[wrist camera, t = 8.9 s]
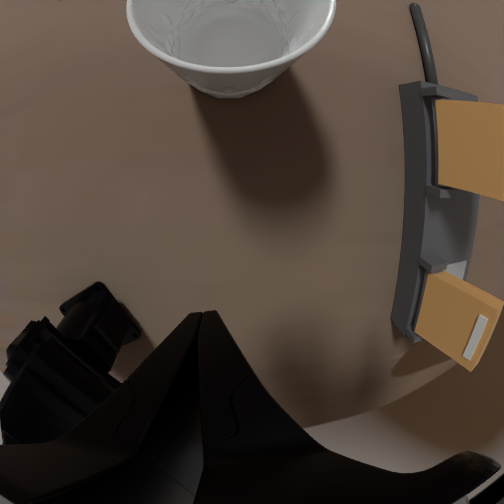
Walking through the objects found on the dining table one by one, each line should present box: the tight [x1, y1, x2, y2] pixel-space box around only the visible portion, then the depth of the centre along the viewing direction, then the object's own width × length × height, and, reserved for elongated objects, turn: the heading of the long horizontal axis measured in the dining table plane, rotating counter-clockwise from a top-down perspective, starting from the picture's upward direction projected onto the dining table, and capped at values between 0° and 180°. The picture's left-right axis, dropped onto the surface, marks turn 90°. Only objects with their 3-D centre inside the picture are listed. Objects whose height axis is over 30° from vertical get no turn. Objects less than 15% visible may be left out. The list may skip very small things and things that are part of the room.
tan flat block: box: [431, 97, 504, 201], centre depth 12 cm, size 2×6×8 cm, turn 6°
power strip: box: [391, 3, 479, 344], centre depth 17 cm, size 7×31×5 cm, turn 7°
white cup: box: [126, 0, 336, 98], centre depth 11 cm, size 8×8×10 cm
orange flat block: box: [413, 270, 504, 372], centre depth 17 cm, size 2×6×8 cm, turn 6°
